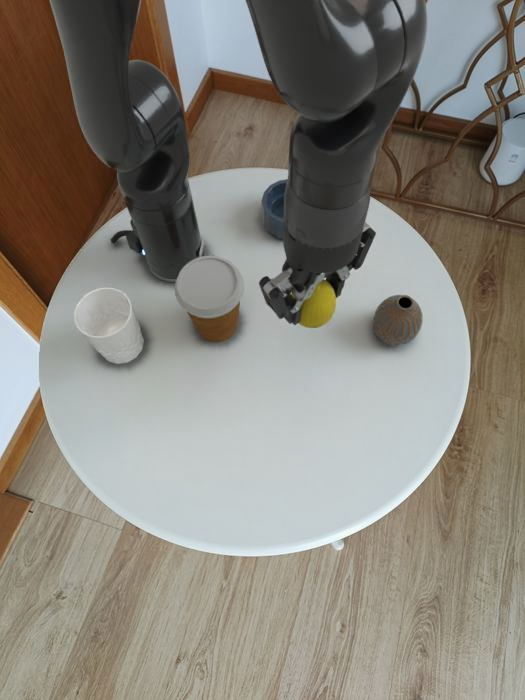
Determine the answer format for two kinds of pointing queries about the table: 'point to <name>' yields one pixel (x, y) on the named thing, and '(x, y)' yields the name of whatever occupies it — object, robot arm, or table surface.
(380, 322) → the vase
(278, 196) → the bowl
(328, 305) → the lemon
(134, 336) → the white cup
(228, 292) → the disposable coffee cup
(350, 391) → the table surface
